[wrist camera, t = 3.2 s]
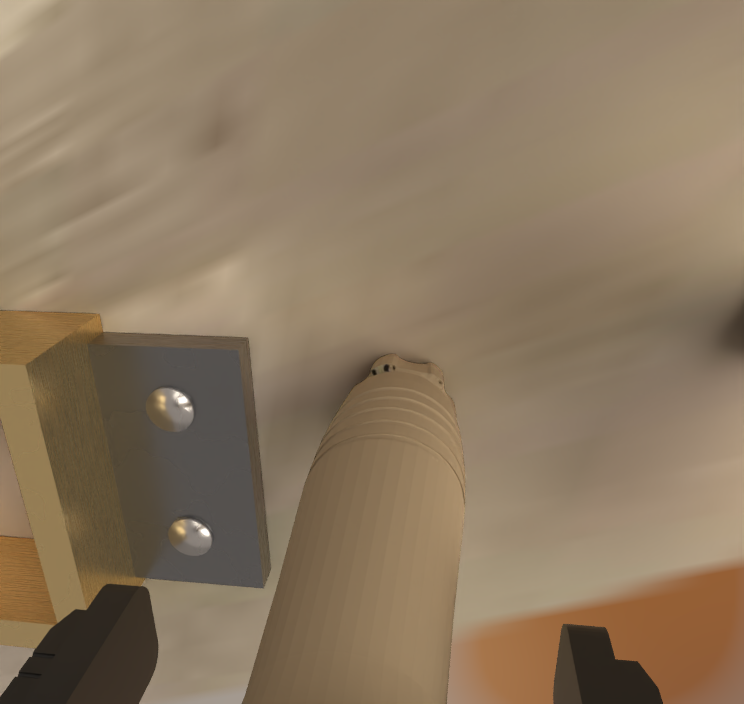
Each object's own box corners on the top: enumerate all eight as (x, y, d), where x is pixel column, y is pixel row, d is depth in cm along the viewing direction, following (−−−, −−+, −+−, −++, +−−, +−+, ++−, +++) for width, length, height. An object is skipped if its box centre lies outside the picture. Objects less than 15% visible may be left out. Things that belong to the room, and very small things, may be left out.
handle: (285, 357, 21) (-32, 879, 8) (475, 297, 20) (498, 827, 6) (341, 477, 23) (160, 1082, 9) (521, 431, 21) (619, 1085, 8)
